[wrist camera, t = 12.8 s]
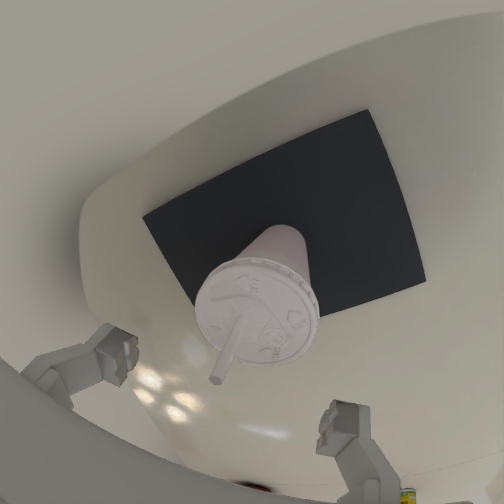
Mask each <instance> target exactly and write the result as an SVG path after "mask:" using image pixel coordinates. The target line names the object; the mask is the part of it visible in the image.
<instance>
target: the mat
mask: <svg viewBox="0 0 504 504" xmlns="http://www.w3.org/2000/svg"><path fill="white" fill-rule="evenodd" d="M142 218H143V220H144V222H145V223H146V225H147V227H148V229H149V231H150V232H151V234H152V236H153V238H154V240H155V241H156V243H157V245H158V247H159V248H160V250H161V252H162V254H163V255H164V257H165V259H166V261H167V262H168V264H169V266H170V267H171V269H172V271H173V273H174V274H175V276H176V278H177V279H178V281H179V283H180V284H181V286H182V288H183V289H184V291H185V292H186V294H187V296H188V297H189V299H190V301H191V302H192V304H193V305H194V307H195V302H196V297H197V294H198V292H199V290H200V288H201V287H202V285H203V283H204V281H205V280H206V279H207V277H208V276H209V274H210V273H211V272H212V271H213V270H214V269H216V268H217V267H218V266H220V265H221V264H223V263H225V262H228V261H231V260H233V259H235V258H236V257H237V256H238V255H239V254H240V253H241V252H242V251H243V250H244V249H245V248H247V247H248V246H249V245H250V244H251V243H252V242H253V241H254V240H255V239H256V238H257V237H259V236H260V235H261V234H262V233H263V232H264V231H265V230H266V229H268V228H269V227H271V226H274V225H288V226H291V227H293V228H295V229H296V230H297V231H299V232H300V234H301V235H302V236H303V238H304V240H305V243H306V250H307V258H308V267H309V275H310V284H311V288H312V290H313V292H314V294H315V297H316V299H317V301H318V305H319V314H320V317H322V316H325V315H328V314H332V313H335V312H338V311H341V310H345V309H348V308H351V307H354V306H357V305H360V304H363V303H366V302H369V301H372V300H375V299H378V298H381V297H384V296H387V295H390V294H393V293H396V292H398V291H401V290H404V289H407V288H410V287H412V286H415V285H418V284H420V283H423V282H426V278H425V274H424V269H423V265H422V261H421V257H420V253H419V249H418V245H417V242H416V238H415V235H414V231H413V228H412V224H411V221H410V218H409V214H408V211H407V208H406V205H405V202H404V199H403V196H402V193H401V190H400V187H399V184H398V181H397V178H396V176H395V173H394V170H393V167H392V165H391V162H390V160H389V157H388V155H387V152H386V149H385V147H384V145H383V142H382V140H381V137H380V135H379V133H378V130H377V128H376V126H375V123H374V121H373V119H372V117H371V115H370V112H369V110H368V109H367V110H364V111H362V112H359V113H357V114H354V115H351V116H349V117H346V118H344V119H341V120H339V121H336V122H334V123H331V124H329V125H327V126H324V127H322V128H319V129H317V130H315V131H312V132H310V133H308V134H305V135H303V136H301V137H299V138H296V139H294V140H292V141H290V142H287V143H285V144H283V145H281V146H279V147H276V148H274V149H272V150H270V151H268V152H266V153H263V154H261V155H259V156H257V157H255V158H253V159H251V160H249V161H247V162H245V163H243V164H241V165H239V166H237V167H234V168H232V169H230V170H228V171H226V172H225V173H223V174H221V175H219V176H217V177H215V178H213V179H211V180H209V181H207V182H205V183H203V184H201V185H199V186H197V187H196V188H194V189H192V190H190V191H188V192H186V193H184V194H183V195H181V196H179V197H177V198H175V199H173V200H172V201H170V202H168V203H166V204H164V205H163V206H161V207H159V208H157V209H156V210H154V211H152V212H150V213H149V214H147V215H145V216H144V217H142Z"/></svg>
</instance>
